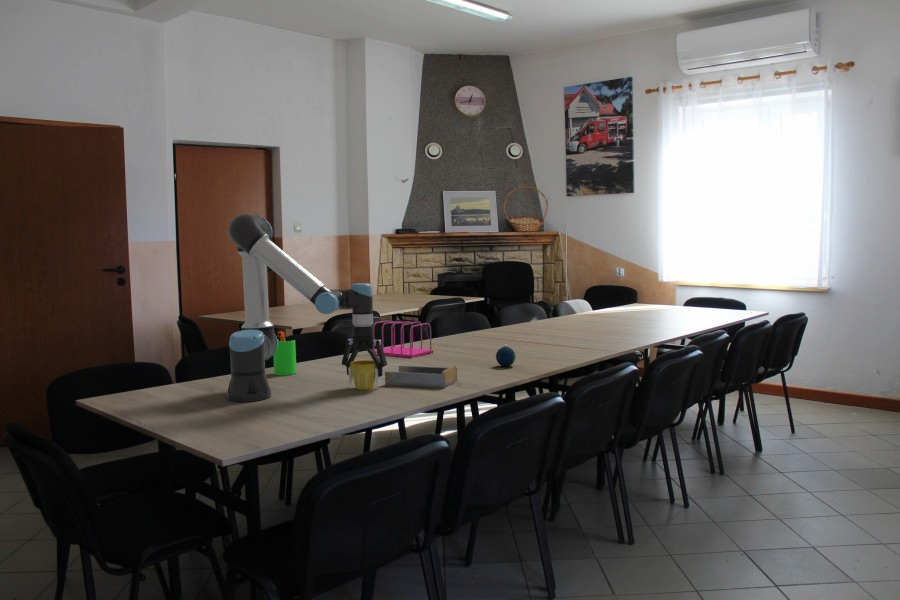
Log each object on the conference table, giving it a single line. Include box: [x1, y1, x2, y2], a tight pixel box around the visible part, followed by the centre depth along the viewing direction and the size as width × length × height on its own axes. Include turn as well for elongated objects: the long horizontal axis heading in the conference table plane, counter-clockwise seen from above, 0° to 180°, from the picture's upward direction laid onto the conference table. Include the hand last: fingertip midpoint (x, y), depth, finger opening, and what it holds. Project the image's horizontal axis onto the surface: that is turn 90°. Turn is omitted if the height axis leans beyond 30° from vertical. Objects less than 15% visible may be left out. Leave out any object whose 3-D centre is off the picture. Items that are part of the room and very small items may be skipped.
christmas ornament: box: [495, 343, 516, 367], centre depth 302 cm, size 8×8×10 cm
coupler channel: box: [384, 365, 458, 389], centre depth 270 cm, size 14×24×6 cm, turn 70°
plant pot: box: [350, 359, 377, 391], centre depth 262 cm, size 10×10×10 cm
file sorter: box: [372, 320, 434, 359], centre depth 342 cm, size 17×25×16 cm
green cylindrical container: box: [272, 331, 297, 376], centre depth 294 cm, size 9×8×18 cm
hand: (364, 384), depth 263 cm, fingers closed on plant pot, 10 cm apart
